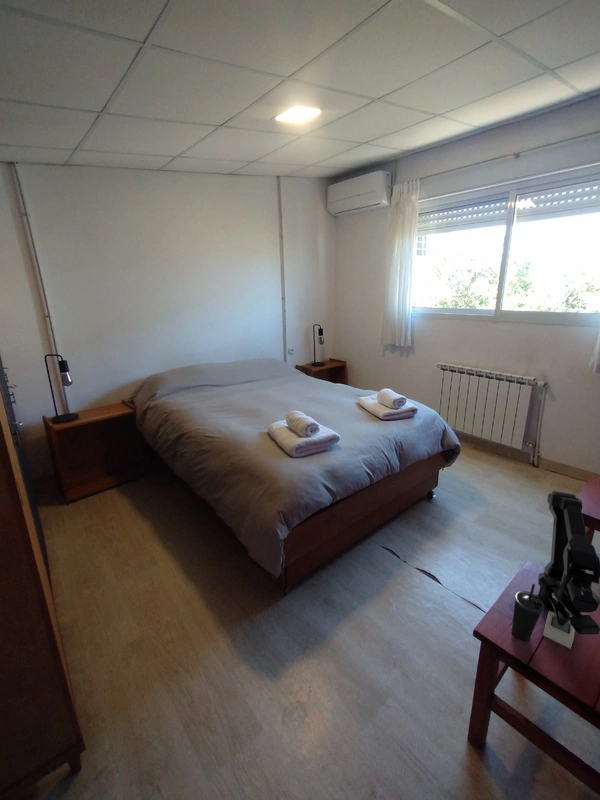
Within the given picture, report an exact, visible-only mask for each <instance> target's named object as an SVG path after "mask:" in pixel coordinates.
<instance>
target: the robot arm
mask: <svg viewBox="0 0 600 800" xmlns="http://www.w3.org/2000/svg"><path fill="white" fill-rule="evenodd" d="M547 503H548V510H549V511H550V513H551V515H552V516H553V521H552V522H553V524H552V525H553V526H552V536H551V537H552V539H551V540H552V541H551V551H550V554H551V555H550V561H549V562H548V563H547V564H546V565H545V566H544V569H543V570H544V571H543V572H541V573H538V578H537V580H538V582H537V583H538V586H539V591H538V594H535V595H536V596H537V597H539V598H540V599H541V600H542V602H543V604H544V608H546V609H547V610H548V612H549V611H551V612H553V613H555V615H556V618H557V621H558V623H559V625H564V624H565V623H567V622H568V621H569V620H570V623H571V625H572V627H573V628H574V629H575V632H576V633H577V634H579V635H583V636H584V635H599V634H600V625H599V624H598V622H597V621H595V619H594V618H593V617H592V616H591V615H590V613H594V612H596V611H597V610H598V609H599V606H600V597H599V596H598V595H597V594H596V593H595V592H594V590H593V588H592V583H593V584H596V585H597V584H600V558H599V556H598V555H597V550H596V549H595V546H594V545H593V544H592V543H591V542H590V541H589V540H588V537H587V531H586V525H585V522H584V516H583V511H582V510H583V500H582V499H580V498H578V497H576V495H575V494H573V493H569V492H563V491H557V490H552V492H551V493H550V492H549V493H548V495H547ZM588 572H589V573H588ZM590 572H593V573H590ZM584 613H585V614H584ZM588 613H589V614H588Z"/></svg>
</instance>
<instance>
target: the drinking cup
mask: <svg viewBox="0 0 600 800" xmlns="http://www.w3.org/2000/svg"><path fill="white" fill-rule="evenodd" d="M535 588H536V584H535V583H532V584H531V588H530V592H529V591H526V590H519V591H517V592H515V595H514V607H513V616H512V625H511V626H512V627H511V633H512V636H513V637H514V638H515V639H517V640H518V641H520V642H524V643H526V642H528V641H529V640H530V638H531V637H532V634H533V632H534V629H535V628H536V626H537V623H538V621H539V618H540V616H541V614H542V613H543V611H544V610H545V606H544V604H543V602H542V600H541V599H540V598H539V597H537V596H536V595H537V594H534V591H535Z"/></svg>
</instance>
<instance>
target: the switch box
mask: <svg viewBox="0 0 600 800" xmlns="http://www.w3.org/2000/svg"><path fill="white" fill-rule="evenodd" d="M554 617H556V615H555V612H554V611H552V612H551V611H549V610H548V613H547V617H546V620H545V625H544V630H543V634H542V636H544V637H545V638H548V639H550V640H551V641H553V642H556V643H557V644H560V645H562V646H564V647H566V648H568V649H572V645H573V643H574V640H575V639H574V638H575V632H576V631H575V629H574V628H573V627H572V625H571V623H570V620H569V621H568V622H567V623H569V629H568V633H566V632H564V631H562V630H560V629H557V628H555V627H553V626H551V625H552V621H553V618H554Z"/></svg>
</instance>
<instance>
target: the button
mask: <svg viewBox="0 0 600 800" xmlns="http://www.w3.org/2000/svg"><path fill="white" fill-rule="evenodd" d="M551 626H553V627H555V628H557V629H560V630H562V631H564V632H566V633H568V629H569V623H565V624H564V625H559V623H558V621H557V618H556V617H554V618H553V621H552V625H551Z"/></svg>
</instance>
